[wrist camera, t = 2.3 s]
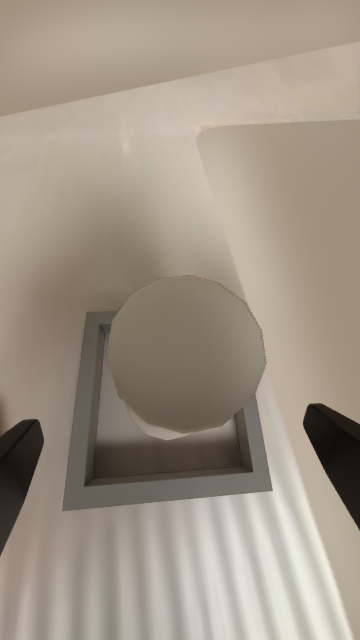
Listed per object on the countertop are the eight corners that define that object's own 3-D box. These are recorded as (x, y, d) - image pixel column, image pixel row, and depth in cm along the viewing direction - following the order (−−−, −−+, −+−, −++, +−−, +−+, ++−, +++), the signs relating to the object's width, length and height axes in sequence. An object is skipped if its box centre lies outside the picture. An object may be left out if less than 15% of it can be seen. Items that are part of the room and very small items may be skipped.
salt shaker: (157, 456, 15) (156, 570, 4) (113, 386, 17) (15, 306, 5) (220, 402, 17) (357, 361, 5) (176, 343, 19) (207, 213, 7)
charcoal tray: (259, 482, 15) (272, 490, 14) (74, 499, 14) (62, 511, 12) (232, 320, 20) (240, 310, 18) (93, 322, 19) (86, 311, 17)
